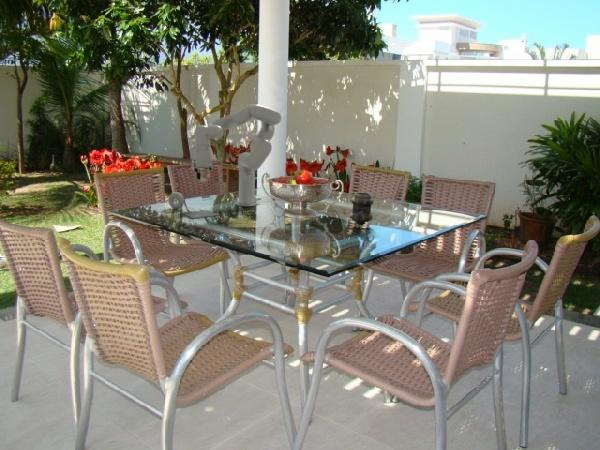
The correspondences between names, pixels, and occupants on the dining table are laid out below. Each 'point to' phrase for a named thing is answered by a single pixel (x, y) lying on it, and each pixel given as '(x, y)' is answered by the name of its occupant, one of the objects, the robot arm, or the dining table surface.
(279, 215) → the dining table surface
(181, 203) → the donut
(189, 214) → the mat
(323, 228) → the dining table surface
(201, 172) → the tan rectangular block
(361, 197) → the apothecary jar
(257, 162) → the robot arm
